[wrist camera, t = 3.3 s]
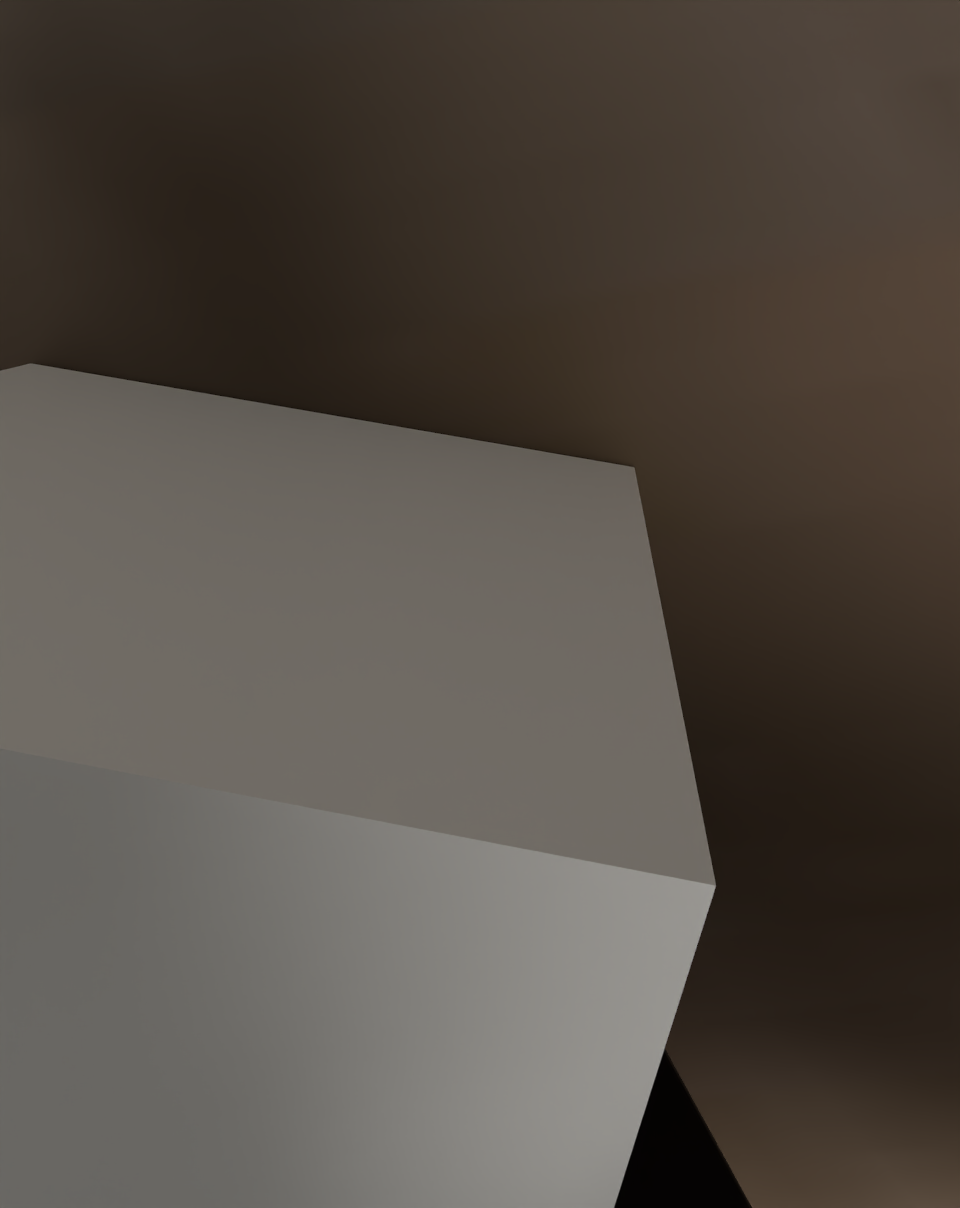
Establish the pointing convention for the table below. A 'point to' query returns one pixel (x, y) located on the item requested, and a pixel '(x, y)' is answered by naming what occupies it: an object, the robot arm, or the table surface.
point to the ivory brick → (327, 810)
